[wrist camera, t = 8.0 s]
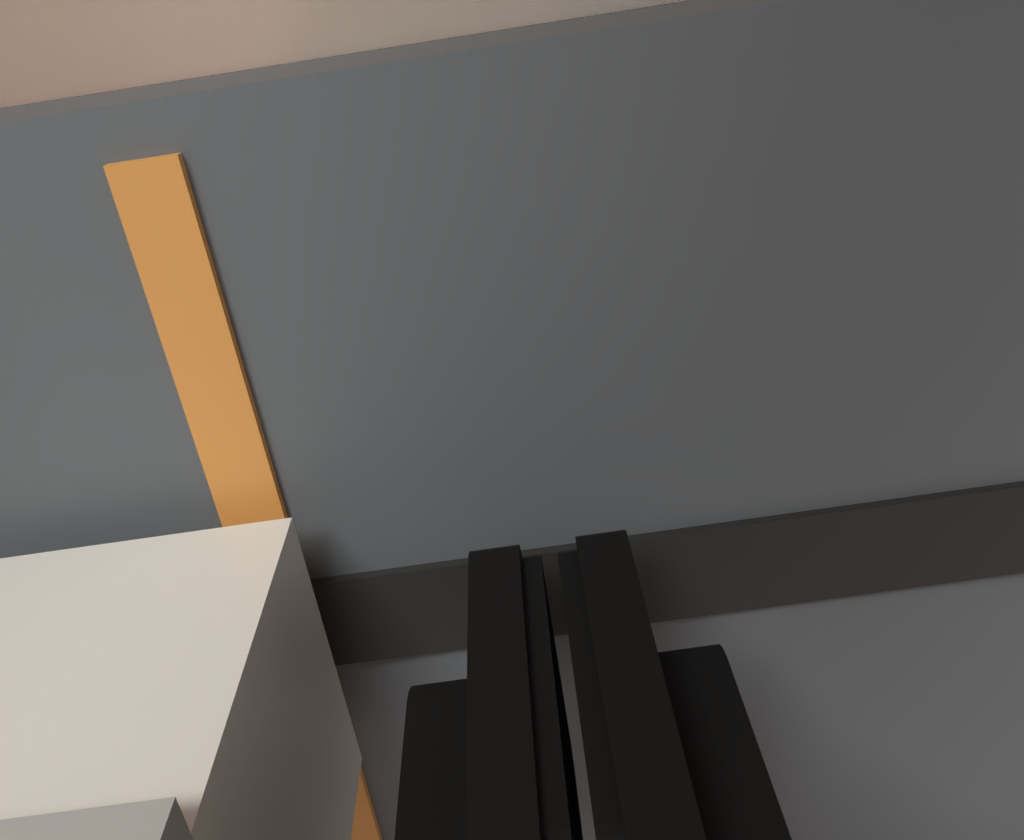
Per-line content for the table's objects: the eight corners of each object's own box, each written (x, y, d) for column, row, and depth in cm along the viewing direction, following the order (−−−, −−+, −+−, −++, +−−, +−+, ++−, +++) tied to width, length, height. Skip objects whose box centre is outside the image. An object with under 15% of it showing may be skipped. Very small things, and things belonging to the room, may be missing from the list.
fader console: (1964, -200, 9) (2235, -226, 8) (1546, 712, 15) (1661, 796, 13) (-555, 195, 10) (-724, 236, 9) (-86, 922, 16) (-144, 1021, 14)
